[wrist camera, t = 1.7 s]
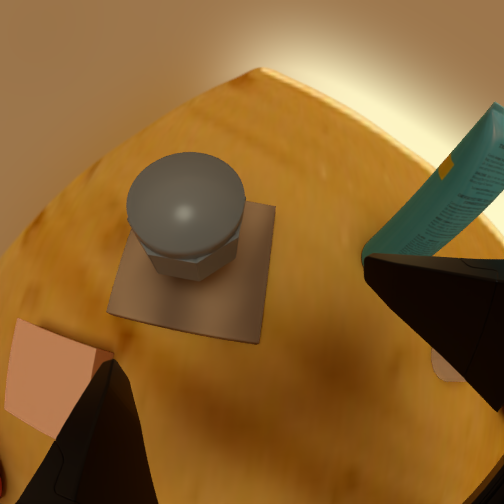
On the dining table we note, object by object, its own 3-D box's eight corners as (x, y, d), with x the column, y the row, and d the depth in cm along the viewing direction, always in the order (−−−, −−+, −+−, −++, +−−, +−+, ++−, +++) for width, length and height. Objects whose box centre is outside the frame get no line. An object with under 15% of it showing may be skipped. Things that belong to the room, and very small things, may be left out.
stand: (113, 353, 19) (96, 348, 16) (101, 443, 16) (83, 452, 13) (39, 326, 19) (17, 317, 16) (27, 408, 15) (4, 409, 12)
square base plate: (273, 212, 26) (293, 152, 19) (257, 344, 21) (278, 328, 14) (149, 192, 26) (132, 131, 18) (110, 314, 20) (64, 283, 13)
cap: (246, 199, 20) (252, 160, 16) (230, 287, 17) (234, 261, 14) (158, 186, 20) (149, 147, 16) (130, 268, 17) (109, 239, 13)
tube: (398, 235, 27) (519, 105, 10) (416, 277, 25) (560, 163, 8) (341, 246, 25) (470, 75, 8) (358, 295, 24) (533, 152, 6)
